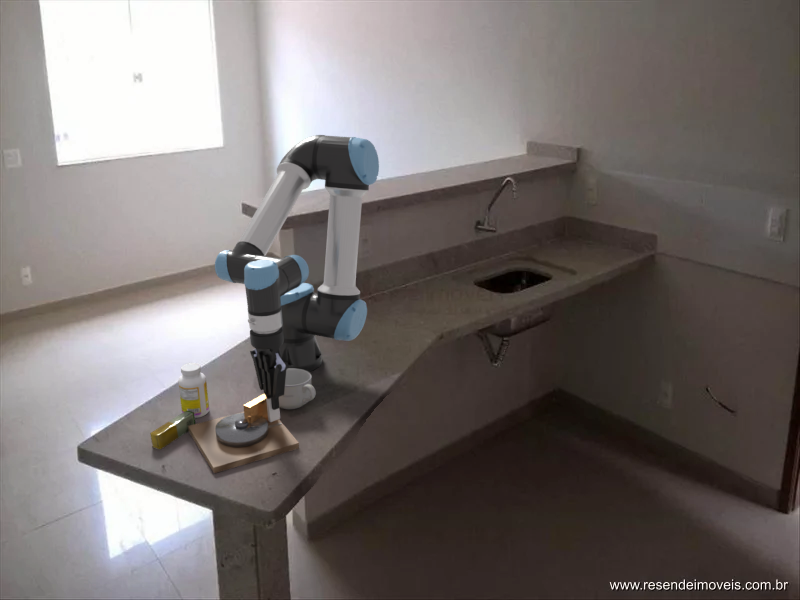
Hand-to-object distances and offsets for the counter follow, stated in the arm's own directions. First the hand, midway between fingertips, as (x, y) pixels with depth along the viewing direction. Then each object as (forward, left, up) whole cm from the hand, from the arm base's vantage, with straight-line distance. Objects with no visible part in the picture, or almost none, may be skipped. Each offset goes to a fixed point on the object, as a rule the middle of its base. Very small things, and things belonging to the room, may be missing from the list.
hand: (274, 419), depth 175 cm
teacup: (-9, -9, -3) cm, 13 cm away
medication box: (+22, -9, -4) cm, 24 cm away
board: (+8, 0, -3) cm, 9 cm away
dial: (+6, -1, -1) cm, 6 cm away
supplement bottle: (+14, -18, -3) cm, 23 cm away
